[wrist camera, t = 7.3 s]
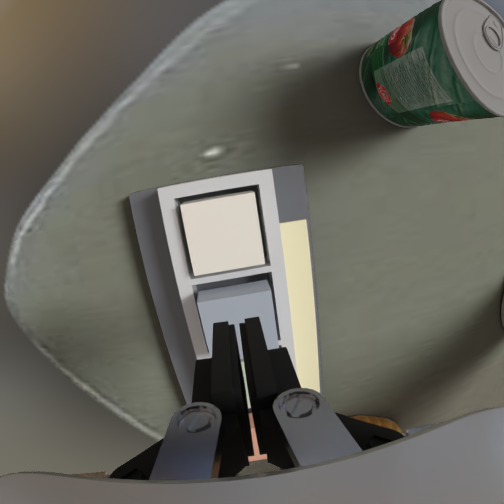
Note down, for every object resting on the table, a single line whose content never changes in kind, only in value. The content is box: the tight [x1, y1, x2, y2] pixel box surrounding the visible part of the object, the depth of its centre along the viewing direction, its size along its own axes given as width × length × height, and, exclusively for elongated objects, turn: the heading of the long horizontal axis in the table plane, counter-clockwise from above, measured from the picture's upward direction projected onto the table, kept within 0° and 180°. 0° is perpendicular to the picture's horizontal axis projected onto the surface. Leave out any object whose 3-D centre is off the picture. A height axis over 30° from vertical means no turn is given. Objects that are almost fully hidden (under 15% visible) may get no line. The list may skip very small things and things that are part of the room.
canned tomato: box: [359, 0, 504, 128], centre depth 16 cm, size 8×8×11 cm
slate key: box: [197, 280, 279, 359], centre depth 20 cm, size 4×4×2 cm
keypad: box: [129, 164, 323, 413], centre depth 23 cm, size 12×24×4 cm, turn 9°
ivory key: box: [180, 190, 265, 276], centre depth 20 cm, size 4×4×2 cm
